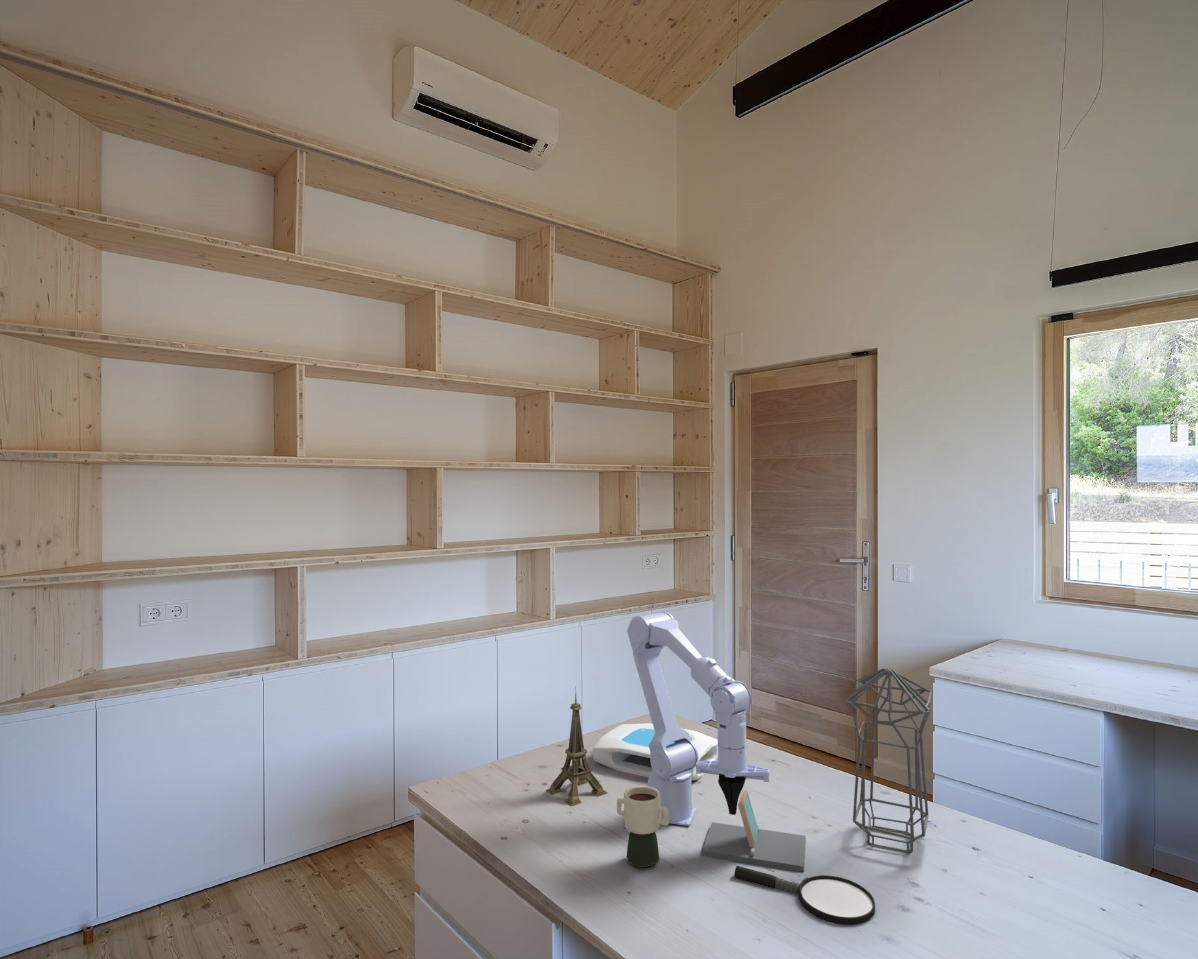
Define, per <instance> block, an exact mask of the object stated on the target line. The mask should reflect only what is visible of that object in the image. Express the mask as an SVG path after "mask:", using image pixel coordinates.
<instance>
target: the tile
mask: <svg viewBox="0 0 1198 959" xmlns="http://www.w3.org/2000/svg"><path fill="white" fill-rule="evenodd" d="M748 792H749V791H748V789H742V790H741V793H740V796H739V799H738V803H737V808H738V810H739V814H740V816H741V821H742V824H743V827H744V828H745V832H746V835H747V839H748V842H749V846H750V847H752V846H755V843H756V838H757V833H758V826H759V825H758V824H757V820H756V819H757V818H756V816H755V813H754V810H753V806H752V802H751V799H750V795H749V793H748ZM757 825H758V826H757Z"/></svg>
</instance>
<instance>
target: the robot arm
mask: <svg viewBox="0 0 1198 959" xmlns="http://www.w3.org/2000/svg"><path fill="white" fill-rule="evenodd" d="M679 626H680V625H679V622H678V620H677V619H675V618H674V616H673V615H672V614H671V613H669V612H668V611H661V612H658V613H651V614H645V615H635V616H633V617H632V619H631V620H630V622H629V624H628V627H627V629H626V632H627V636H628V639H629V642H630V647H631V650H632V657H633V660H634V663H635V666H636V667H635V668H636V670H637V673H638V678H639V681H640V684H641V688H642V691H643V696H644V698H645V701H646V702H645V703H646V705H647V709H648V713H649V716H650V719H651V724H653V727H654V730H655V735H654V737H653V738H652V740H651V742H650V743H649V749H650V755H651V757H650V758H649V759H650V760H649V761H650V765H651V766H650V767H652V769H653V771H654V772H651V773H650V775H649V777H648V779H647V786H648V787H652V788H655V789H657V790H658V791H659V793H660V796H661V807H665V808H667V809H668V811H669V824H673V825H679V826H685V827H686V826H687V827H690V826H691V824H692V822H693V819H694V817H695V814H696V812H697V808H696V807H693V806H692V805H693V804H692V800H693V799H692V781H691V774H693V768H694V767H696V774H701V773H705V774H707V775H708V774H709V775H716V776H718V780H717V783H718V786H719V787H720V789H721V791H722V794H723V795H724V798H725V801H726V805H727V808H728V814H729V815H731V816H736V815H737V809H738V804H739V799H740V796H741V793H742V790H743V788H744V785H745V783H746V781H747V779H750V780H757V781H759V780H760V781H763V782H765V783H769V782H770V779H771V778H770V776H771V774H770V772H771V770H770V768H766V767H760V766H757V765H754V764H753V765H752V764H749V763H747V762H748V761H747V757H748V756H747V714H746V712H747V711H746V710H748V709H749V708H750V707H751V705H752V699H753V698H752V694H751V690H750V689H749V688H748V687H747V685H746V683H744V682H743V681H741V680H740V681H739V680H735V679H734V678H732V677H731V676H730V675H728V674H727V673H726V672H725V671H724V670H723V669H722V668H721V667H720V666H719V665H718V662H717V661H716V660H715V659H714V658H711V657H710V656H707V657H706V656H704V657H703V656H702V655H701V654H700V652H699V651H698V650H697V649H696V648H695V646H694V645H693V644H692V642H690V640H689V639H688V638H687V637H686V636H685V635H684V633H683V632H682V631H681V630H680V628H679ZM664 647H666V648H668V649H669V650H670V651H671V652H672V653H674V654H675V655H676V656H677V658H679V659H680V660H681V661H682V662H683V663H685V665H687V666H688V668H690V677H691V678H692V680H693V681H695V683H696V684H697V685H698V687H700V688H701V689H702V690H703V692H705V693H706V694H707V696H708V697H710V698H709V702H710V705H711V708H712V710H713V711H714V717H715V721H716V725H717V726H716V727H717V731H716V732H717V740H718V759H717V761H698V758H699V757H698V752H697V749H696V747H695V745H694V744H693V743H692V741H691V739H690V735H689V733H688V732H687V731H685V730H683V729H684V728H682V727H681V726H680V725H679V723H678V720H677V716H676V713H675V709H674V705H673V703H672V700H671V696H670V693H669V692H670V691H669V690H668V687H667V682H666V678H665V675H664V673H663V669H662V666H661V663H660V660H659V656H660V654H661V651H662V650H663V649H664ZM670 742H675V743H674V744H671V745H668V746H667V744H668V743H670ZM661 819H663V820H664V813H663V812H661Z"/></svg>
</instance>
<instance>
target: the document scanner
mask: <svg viewBox="0 0 1198 959" xmlns="http://www.w3.org/2000/svg"><path fill="white" fill-rule="evenodd" d="M682 729H683V730H685V731H687V732H688V733H689V735H690V739H691V741H692V743H693V744H694V745H695V747H696V749H697V752H698V757H699V758H698V761H718V738H714V737H712V736H709V735H706V734H704V733H702V732H699V731H697V730H692V729H687V728H686V729H685V728H682ZM654 735H655V730H654V727H653V723H652V722H651V723H629V724H628V723H623V724H620V725H618V726H616V727H614V728H613V729H611V730H610V731H608V732H607V733H605V734H603V735H602V736H601V737H600V738H599V739H598V740H597V742H596V743H595V745H594V746H593V747H592V751H593V753H592V755H593V756H592V758H593V761H594V762H597V763H599V764H601V765H604V767H605V766H606V767H608V768H609V769H612V770H613V771H617V772H622V773H626V774H632V775H635V776H641V777H645V778H649V775H650V773H651V772H654V771H653V769H652V767H651V766H647V765H641V764H637V763H634V762H630V761H625V759H627V758H628V757H630V756H631V755H633V756H638V757H643V758H649V759H650V757H651V755H650V749H649V743H650V742H651V740H652V738H653V737H654ZM674 743H675V742H670V743H668V744H667V746H668V745H671V744H674ZM705 775H706V773H701V774H696V767H694V768H693V774H691V782H692V781H698V780H701V779H702V778H703V777H704V776H705Z"/></svg>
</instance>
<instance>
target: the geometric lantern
mask: <svg viewBox="0 0 1198 959" xmlns="http://www.w3.org/2000/svg"><path fill="white" fill-rule="evenodd" d="M883 677H884V678H883ZM892 677H893V678H894V680H895V682H896V683H897V685H898V686H892ZM882 678H883V681H882V683H881V685H880V684H876V682H878V681H879V680H880V679H882ZM859 683H861V684H862V685H861V686H859ZM886 683H887V686H886ZM909 683H910V684H912V685H914V686H916V687H918V688H914V687H913V686H911V685H910V684H909ZM851 684H854V688H855V691H854V690H852V693H851V694H849V696H848V697H847V698H846V699H845V700H844V701H845V702H846V703H847V704H848V705H850V708H851V711H852V716H853V722H854V728H855V733H856V737H857V753H856V764H855V765H856V766H855V780H854V796H853V798H854V799H853V811H852V823H854V824H855V825H856V826H857V827H858V828H859V829H861V830H862V831H863V832H864V833H865V834H866V835H867V838H866V844H868V845H870V846H873V847H878V848H884V849H887V850H888V849H889V850H894V851H899V852H904V853H908V854H909V853H911V852H913V851H914V842H916V841H917V840H919V839H921V838H925V837H926V833H927V825H928V821H929V806H928V804H929V803H928V792H927V782H926V780H927V779H926V768H925V758H924V757H925V756H924V744H923V733H924V729H925V726H926V722H928V719H929V717H930V714H931V709H930V705H931V701H932V697H933V696H932V695H933V691H932V690H930V689H928V688H926V687H924V686H923V685H921V684H920V683H918V682H915V681H914V680H912V679H910V678H908V677H906V676H905V675H903V674H902V673H900V672H898V671H896V670H895V669H893V668H891V667H889V668H883V667H882V668H880V669H878V670H876V671H874V672H872V673H870V674H867V675H865V676H863V677H860V678H858V679H856V680H853V681H852V682H851ZM874 687H876V688H879V691H878V690H876V689H875V688H874ZM868 690H870V691H872V692H873V693H875V694H876V699H875V701H874V703H873V704H871V703H866V702H865V703H864V702H860V697H861V696H862V695H863V694H864V693H865V692H866V691H868ZM884 690H886V691H887V692H886V696H884V694H882V693H883V691H884ZM892 690H897V691H901V695H900V701H897V700H893V697H892V696H893V695H892ZM926 692H927V693H928V695H927V699H925V697H923V696H922V694H924V693H926ZM904 694H906V695H907V697H908V698H907V699H905V700H904ZM881 698H882V699H883V701H882V703H881V704H880V707H877V706H878V703H879V701H880V699H881ZM910 702H912V703H913V705H914V706H915V707H916V709H917V710H911V709H910V710H908V708H907V706H906V704H907V703H910ZM917 702H918V703H917ZM886 703H888V709H886V708H883V707H884V706H885V705H886ZM893 704H895V705H898V706H899V705H900V706H903V707H904V709H893ZM920 706H921V707H922V708H921V707H920ZM864 707H867V708H871V709H872V714H873V715H872V714H870V713H869V712H868V711H867V710H866V709H864ZM855 709H858V710H860V711H861V712H862V714H863V715H864V717H865V719H866V720H867V721H862V722H861V725H860V727H859V726H858V721H857V717H856V711H855ZM923 709H924V710H923ZM881 712H884V713H887V716H888V720H878V716H879V714H880V713H881ZM891 713H895V714H908V715H905V716H903V717H900V718H896V719H895V720H892V718H891ZM920 715H923V717H922V720H921V723H920V725H919V727H918V725H917V723H916V722H915V720H914V717H917V716H920ZM868 718H870V719H871V721H870V720H869V719H868ZM908 719H911V720H912V723H913V724H914V726H915V727H914V726H907V725H900V724H897V723H900V722H904V721H906V720H908ZM868 725H872V728H871V729H870V730H869V731H868ZM878 725H883V726H891V727H892V728H893V729H894V731H895V732H896V733H897V735H898V736H899V738H900V740H901V742H902V743H903V745H901V744H894V743H890V742H883V741H878V740H876V727H877V726H878ZM863 726H864V727H863ZM863 728H864V729H863ZM899 728H902V729H903V728H904V729H910V730H911V729H912V730H914V745H908V744H907V741H906V740H905V739H904V737H903V735H902V733H901V732H900V730H898V729H899ZM862 729H863V736H862V735H860V733H861V731H862ZM870 734H872V735H871V739H867V738H868V737H869V736H870ZM868 742H869V743H871V756H870V757H871V761H870V762H871V764H870V765H871V766H870V785H869V786H870V793H869V797H867V798H866V751H867V750H866V749H867V743H868ZM875 744H880V745H885V746H886V745H887V746H892V747H897V748H903V749H906V765H907V766H906V767H907V780H908V781H907V783H908V784H907V785H908V800H909V801H908V802H909V805H908V804H903V803H897V802H892V801H889V800H888V801H887V800H882V799H877V798H874V775H875V774H874V773H875V772H874V770H875V747H876V746H875ZM919 749H920V750H919ZM910 750H914V776H915V777H914V779H915V781H914V789H915V790H914V791H915V793H914V794H915V795H914V798H915V799H914V800H915V804H914V806H913V794H912V792H913V790H912V773H911V771H912V769H911V754H910ZM860 757H861V758H860ZM860 759H861V778H860V779H861V780H860V793H859V794H860V795H859V801H858V792H859V791H858V787H859V773H860ZM920 763H921V765H920ZM921 773H922V774H921ZM921 775H922V777H921ZM921 778H922V779H921ZM922 786H923V787H922ZM922 788H923V790H922ZM922 792H923V793H922ZM923 796H924V797H923ZM923 798H924V800H923ZM923 801H924V804H923ZM866 802H869V807H870V812H871V815H870V813H869V812H868V809H867V808H866ZM872 802H876V803H880V804H885V805H890V806H894V807H895V806H896V807H899V808H900V807H901V808H904V809H909V819H908V821H904V820H900V819H899V820H897V819H891V818H885V817H877V816H875V814H874V810H873V803H872ZM857 803H858V805H857ZM924 809H925V810H924ZM860 810H861V821H862V822H859V821H858V820H857V819H858V816H859V812H860ZM916 811H918V812H919V815H920V817H919V818H918V819H917V820H916V821H914V815H915V813H916ZM866 814H867V816H868V825H866ZM871 820H872V821H871ZM875 820H881V821H888V822H892V823H901V824H905V830H901V829H897V828H890V827H885V826H878V825H875V822H876V821H875ZM871 822H872V824H871ZM919 822H920V826H921V834H919V835H916V836H915V831H914V830H915V829H914V828H915V825H916V824H918V823H919ZM909 827H910V828H909ZM909 829H910V830H909ZM871 831H874V832H875V831H876V832H878V833H883V834H887V835H890V836H895V837H899V838H903V839H907V840H908V841H906V840H902V839H896V838H891V837H888V836H887V837H886V836H881V835H876V834H872V833H871ZM909 831H910V832H909ZM897 832H899V833H897ZM906 834H907V835H906ZM875 838H878V839H882V840H888V841H893V842H897V843H903V844H906V848H907V849H903V848H898V847H892V846H886V845H883V844H876V843H875Z"/></svg>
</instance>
